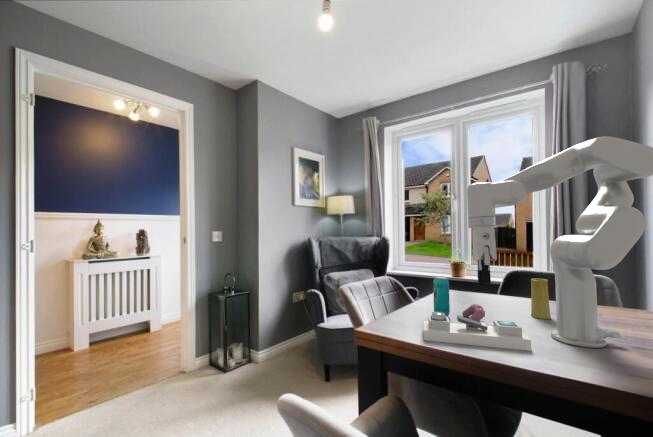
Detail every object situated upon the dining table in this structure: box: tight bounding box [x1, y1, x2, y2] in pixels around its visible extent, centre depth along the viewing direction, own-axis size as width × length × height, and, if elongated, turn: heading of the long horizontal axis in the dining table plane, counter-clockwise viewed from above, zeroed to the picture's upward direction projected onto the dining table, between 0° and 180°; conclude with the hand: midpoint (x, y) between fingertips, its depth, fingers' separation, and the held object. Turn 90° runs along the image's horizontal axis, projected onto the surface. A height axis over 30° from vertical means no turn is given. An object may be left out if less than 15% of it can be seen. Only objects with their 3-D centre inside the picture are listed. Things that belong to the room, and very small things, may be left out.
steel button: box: [431, 311, 445, 321], centre depth 93 cm, size 4×4×2 cm
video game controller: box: [461, 303, 486, 322], centre depth 109 cm, size 10×5×7 cm, turn 169°
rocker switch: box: [456, 315, 488, 330], centre depth 90 cm, size 8×4×1 cm, turn 72°
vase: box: [530, 277, 552, 320], centre depth 113 cm, size 6×6×14 cm
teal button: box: [499, 322, 515, 327], centre depth 87 cm, size 4×4×2 cm
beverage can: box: [432, 275, 451, 318], centre depth 115 cm, size 6×6×15 cm
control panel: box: [423, 314, 532, 352], centre depth 90 cm, size 28×10×6 cm, turn 73°
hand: (484, 283), depth 90 cm, fingers closed
